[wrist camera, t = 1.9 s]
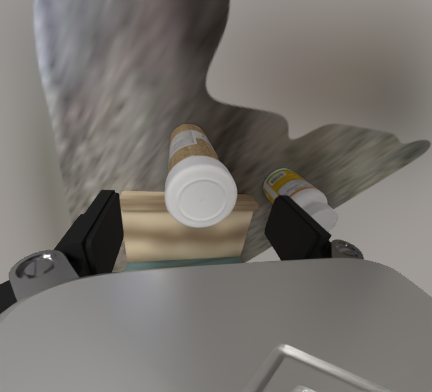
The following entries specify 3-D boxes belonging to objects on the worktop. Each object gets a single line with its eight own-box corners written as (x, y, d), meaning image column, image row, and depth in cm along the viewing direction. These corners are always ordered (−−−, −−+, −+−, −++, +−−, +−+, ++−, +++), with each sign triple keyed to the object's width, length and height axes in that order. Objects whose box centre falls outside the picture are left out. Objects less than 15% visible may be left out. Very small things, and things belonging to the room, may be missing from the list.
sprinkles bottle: (213, 150, 24) (248, 211, 12) (181, 166, 24) (187, 240, 13) (196, 115, 21) (222, 151, 10) (161, 133, 21) (147, 189, 10)
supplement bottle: (287, 199, 30) (330, 242, 22) (257, 198, 29) (290, 243, 21) (300, 168, 28) (353, 204, 19) (268, 165, 26) (310, 202, 18)
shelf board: (122, 190, 24) (113, 210, 20) (251, 194, 28) (263, 211, 25) (130, 255, 30) (124, 279, 26) (236, 250, 34) (243, 271, 30)
